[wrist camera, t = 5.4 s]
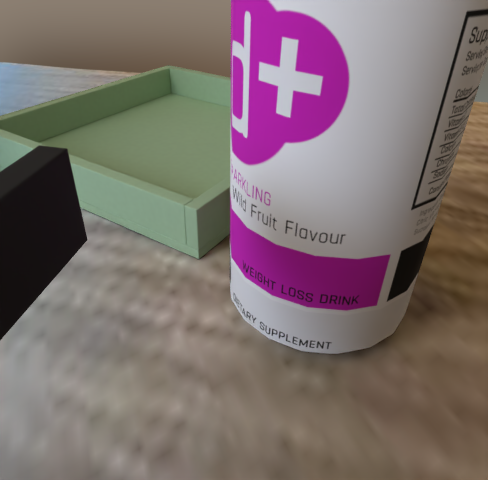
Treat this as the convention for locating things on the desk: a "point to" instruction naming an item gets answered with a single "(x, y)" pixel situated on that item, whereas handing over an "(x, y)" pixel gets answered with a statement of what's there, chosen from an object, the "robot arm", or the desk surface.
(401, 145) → the supplement can
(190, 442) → the desk surface
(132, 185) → the tray
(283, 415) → the desk surface
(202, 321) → the desk surface
